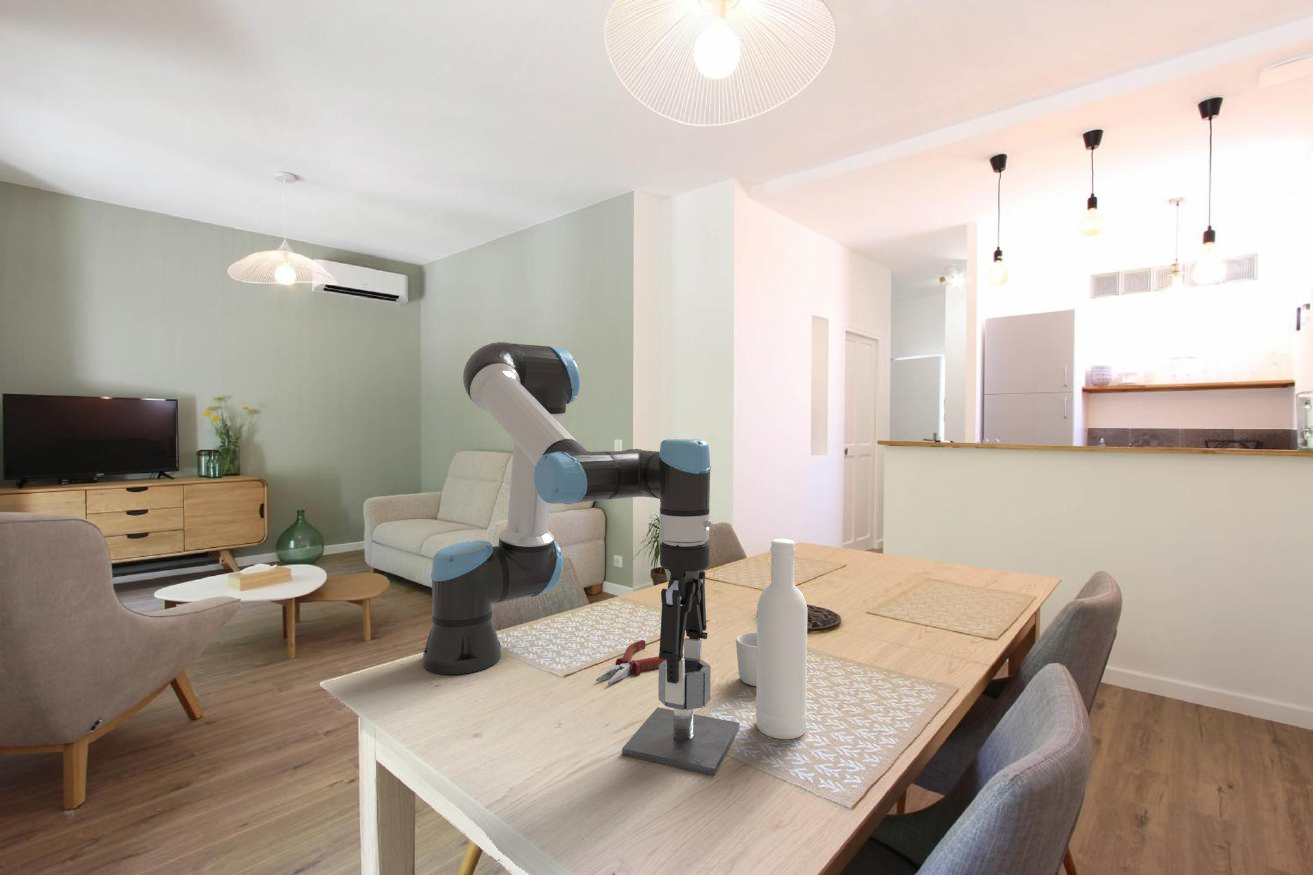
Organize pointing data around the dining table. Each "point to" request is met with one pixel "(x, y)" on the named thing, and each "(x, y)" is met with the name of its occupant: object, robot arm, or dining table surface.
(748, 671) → the cup
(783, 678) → the bottle
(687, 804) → the dining table surface
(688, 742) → the piston jig
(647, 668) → the pliers
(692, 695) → the ring
